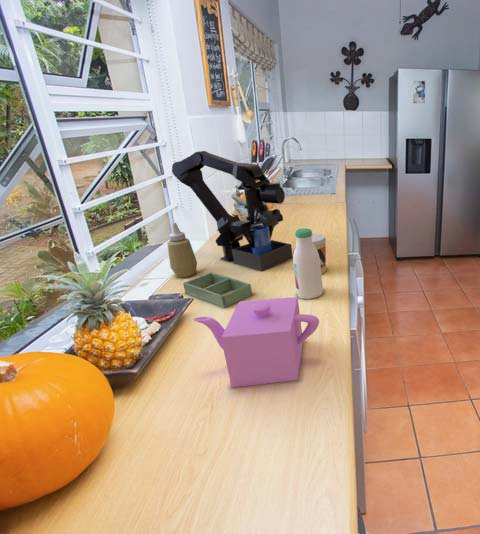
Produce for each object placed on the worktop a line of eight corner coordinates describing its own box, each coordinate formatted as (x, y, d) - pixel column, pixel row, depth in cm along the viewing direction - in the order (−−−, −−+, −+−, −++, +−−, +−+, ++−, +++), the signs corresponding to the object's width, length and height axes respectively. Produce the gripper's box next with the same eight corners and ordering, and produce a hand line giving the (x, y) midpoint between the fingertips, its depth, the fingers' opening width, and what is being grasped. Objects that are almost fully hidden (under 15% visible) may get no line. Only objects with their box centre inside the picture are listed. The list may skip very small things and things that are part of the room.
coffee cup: (322, 277, 128) (318, 243, 123) (295, 275, 130) (291, 241, 125) (332, 266, 136) (329, 234, 132) (307, 265, 138) (304, 232, 133)
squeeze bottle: (204, 272, 133) (193, 221, 126) (183, 280, 126) (170, 227, 119) (188, 268, 136) (176, 218, 129) (167, 276, 129) (153, 225, 122)
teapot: (215, 348, 90) (203, 294, 85) (323, 337, 94) (318, 285, 89) (193, 391, 77) (177, 330, 71) (321, 377, 80) (315, 318, 75)
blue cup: (249, 257, 140) (244, 228, 136) (264, 251, 146) (259, 223, 142) (262, 260, 137) (257, 231, 133) (276, 255, 143) (272, 226, 138)
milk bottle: (327, 290, 119) (322, 227, 111) (314, 301, 112) (307, 235, 104) (305, 286, 121) (299, 225, 114) (291, 297, 114) (283, 232, 107)
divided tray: (185, 293, 118) (183, 282, 116) (213, 281, 125) (211, 272, 124) (224, 307, 109) (222, 296, 107) (252, 294, 116) (250, 284, 115)
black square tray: (234, 263, 140) (231, 249, 138) (265, 251, 152) (263, 238, 149) (261, 271, 133) (259, 256, 131) (292, 258, 145) (291, 244, 142)
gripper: (248, 210, 123) (255, 256, 129) (291, 199, 138) (296, 241, 143) (225, 206, 128) (233, 250, 134) (269, 196, 143) (275, 236, 149)
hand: (261, 244), depth 140 cm, fingers closed on blue cup, 7 cm apart
